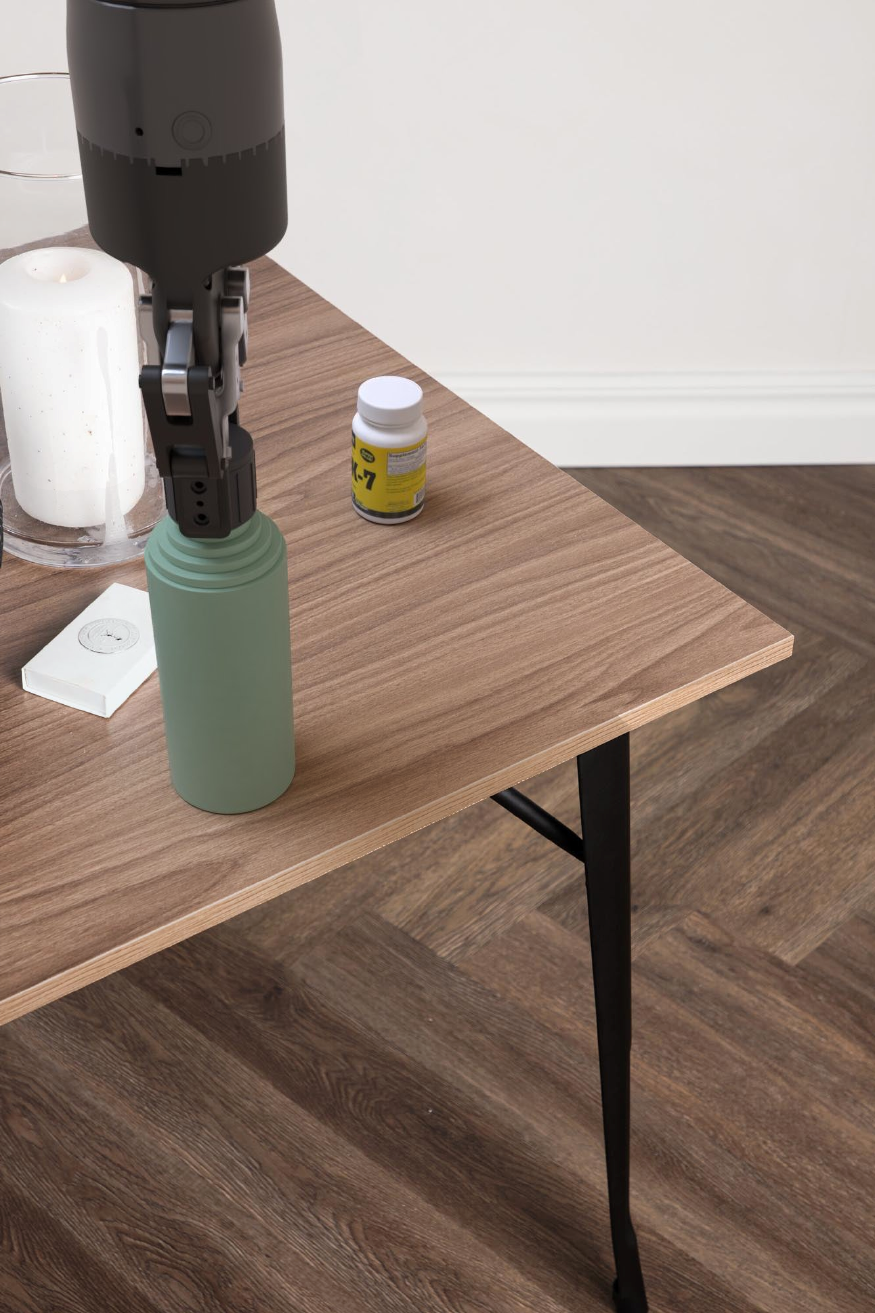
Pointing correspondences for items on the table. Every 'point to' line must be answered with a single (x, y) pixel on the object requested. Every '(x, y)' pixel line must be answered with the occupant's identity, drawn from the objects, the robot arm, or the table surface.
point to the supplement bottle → (389, 450)
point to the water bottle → (224, 662)
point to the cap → (231, 479)
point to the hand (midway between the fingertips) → (212, 502)
